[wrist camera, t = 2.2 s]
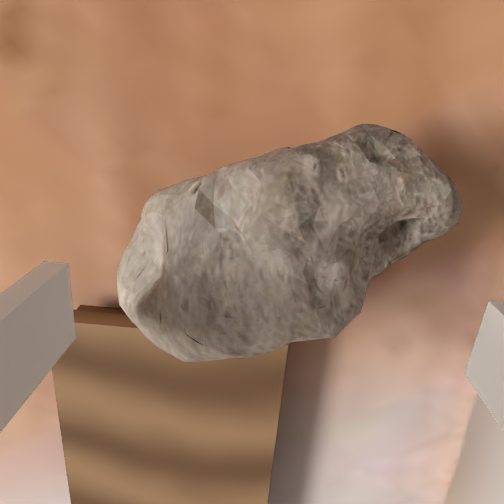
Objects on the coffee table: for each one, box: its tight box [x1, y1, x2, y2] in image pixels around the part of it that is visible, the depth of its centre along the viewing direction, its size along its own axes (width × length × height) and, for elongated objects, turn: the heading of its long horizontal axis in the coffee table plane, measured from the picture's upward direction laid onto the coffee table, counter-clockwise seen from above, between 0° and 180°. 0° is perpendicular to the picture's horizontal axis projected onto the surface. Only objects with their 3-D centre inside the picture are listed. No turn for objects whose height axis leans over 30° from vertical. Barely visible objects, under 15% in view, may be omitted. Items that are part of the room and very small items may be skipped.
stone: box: [117, 124, 462, 362], centre depth 17 cm, size 9×14×10 cm, turn 104°
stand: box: [52, 305, 288, 504], centre depth 26 cm, size 18×13×3 cm
